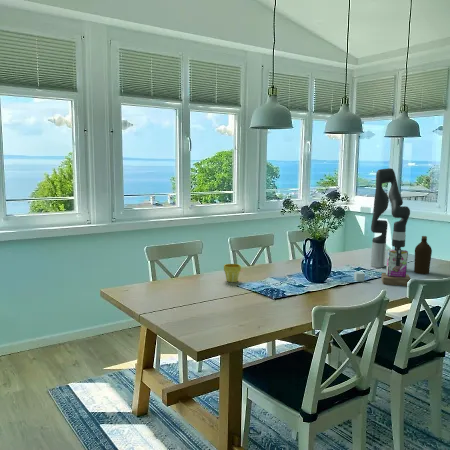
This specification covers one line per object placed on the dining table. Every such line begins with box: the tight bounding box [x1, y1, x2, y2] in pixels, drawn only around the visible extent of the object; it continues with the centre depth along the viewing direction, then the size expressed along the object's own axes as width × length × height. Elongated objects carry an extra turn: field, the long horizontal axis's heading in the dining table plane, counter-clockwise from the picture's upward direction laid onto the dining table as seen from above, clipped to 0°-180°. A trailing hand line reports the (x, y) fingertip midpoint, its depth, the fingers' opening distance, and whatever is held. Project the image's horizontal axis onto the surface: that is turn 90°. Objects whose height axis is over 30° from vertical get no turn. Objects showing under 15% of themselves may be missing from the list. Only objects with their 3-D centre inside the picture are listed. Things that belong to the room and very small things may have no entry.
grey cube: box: [353, 271, 366, 282], centre depth 293 cm, size 5×5×5 cm
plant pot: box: [223, 263, 242, 283], centre depth 286 cm, size 10×10×10 cm
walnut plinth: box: [380, 272, 412, 287], centre depth 290 cm, size 14×16×4 cm
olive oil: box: [413, 235, 433, 275], centre depth 315 cm, size 11×11×25 cm
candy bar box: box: [385, 248, 409, 277], centre depth 288 cm, size 11×5×16 cm, turn 83°
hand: (396, 264), depth 289 cm, fingers open, 8 cm apart
